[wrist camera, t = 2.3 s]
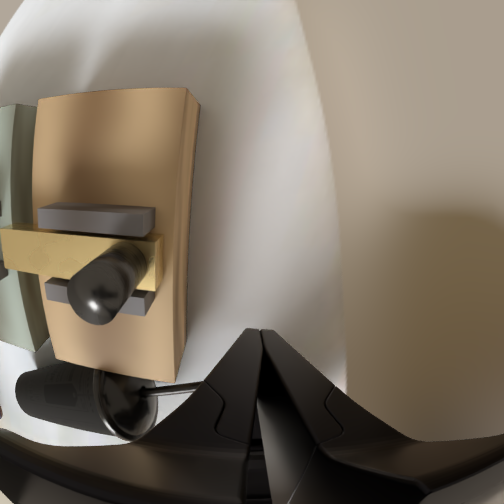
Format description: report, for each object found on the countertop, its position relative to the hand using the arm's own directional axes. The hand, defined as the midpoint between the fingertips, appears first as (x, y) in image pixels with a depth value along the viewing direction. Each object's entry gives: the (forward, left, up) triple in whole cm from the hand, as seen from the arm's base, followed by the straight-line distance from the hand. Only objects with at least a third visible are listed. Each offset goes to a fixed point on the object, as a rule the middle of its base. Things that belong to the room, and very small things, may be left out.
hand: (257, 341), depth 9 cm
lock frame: (+14, 0, -12) cm, 18 cm away
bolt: (+9, 0, -7) cm, 12 cm away
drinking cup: (+20, +17, -10) cm, 28 cm away
